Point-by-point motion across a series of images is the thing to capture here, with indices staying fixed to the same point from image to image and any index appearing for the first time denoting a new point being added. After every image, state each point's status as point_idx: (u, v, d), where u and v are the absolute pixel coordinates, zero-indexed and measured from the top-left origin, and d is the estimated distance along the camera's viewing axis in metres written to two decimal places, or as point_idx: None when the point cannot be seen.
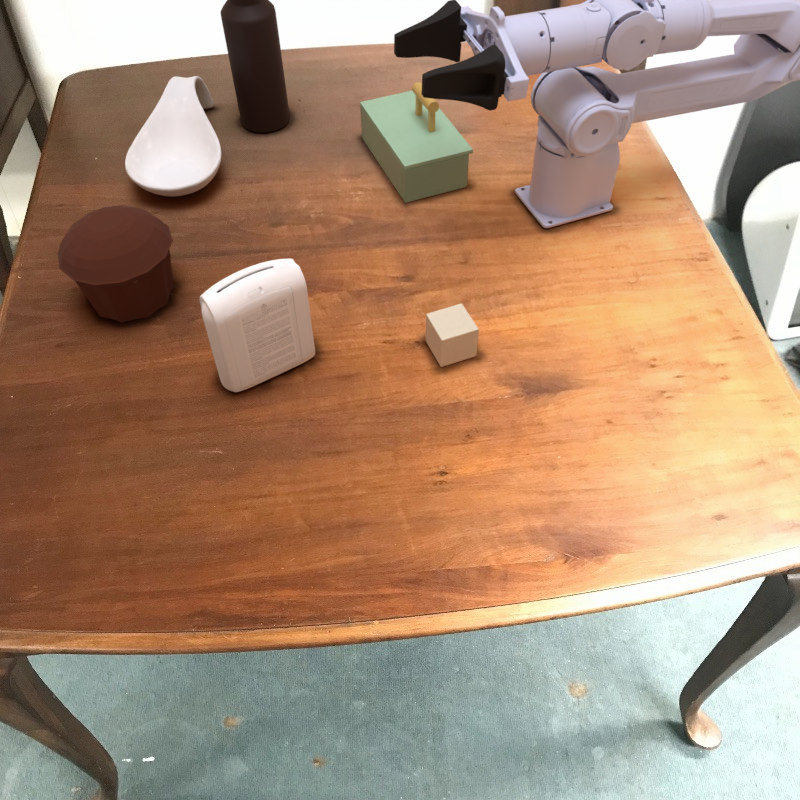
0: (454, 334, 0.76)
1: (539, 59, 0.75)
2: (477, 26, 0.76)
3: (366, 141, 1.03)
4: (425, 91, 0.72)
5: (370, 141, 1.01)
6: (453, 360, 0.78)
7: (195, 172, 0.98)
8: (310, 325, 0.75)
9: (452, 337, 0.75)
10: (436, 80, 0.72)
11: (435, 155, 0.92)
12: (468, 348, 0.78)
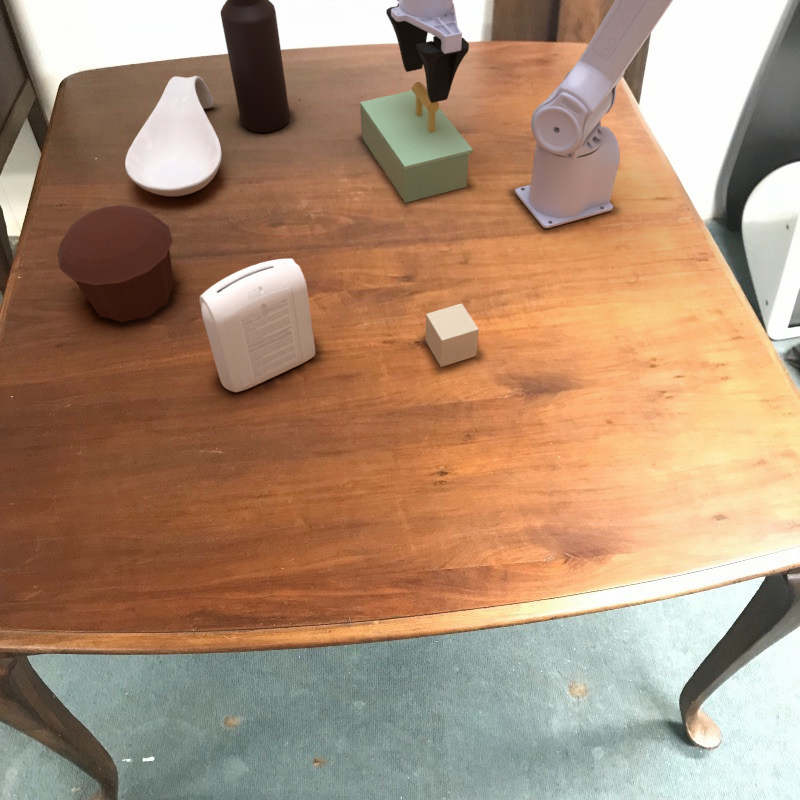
0: (454, 334, 0.76)
1: None
2: None
3: (366, 141, 1.03)
4: (442, 99, 0.90)
5: (370, 141, 1.01)
6: (453, 360, 0.78)
7: (195, 172, 0.98)
8: (310, 325, 0.75)
9: (452, 337, 0.75)
10: (435, 93, 0.89)
11: (435, 155, 0.92)
12: (468, 348, 0.78)
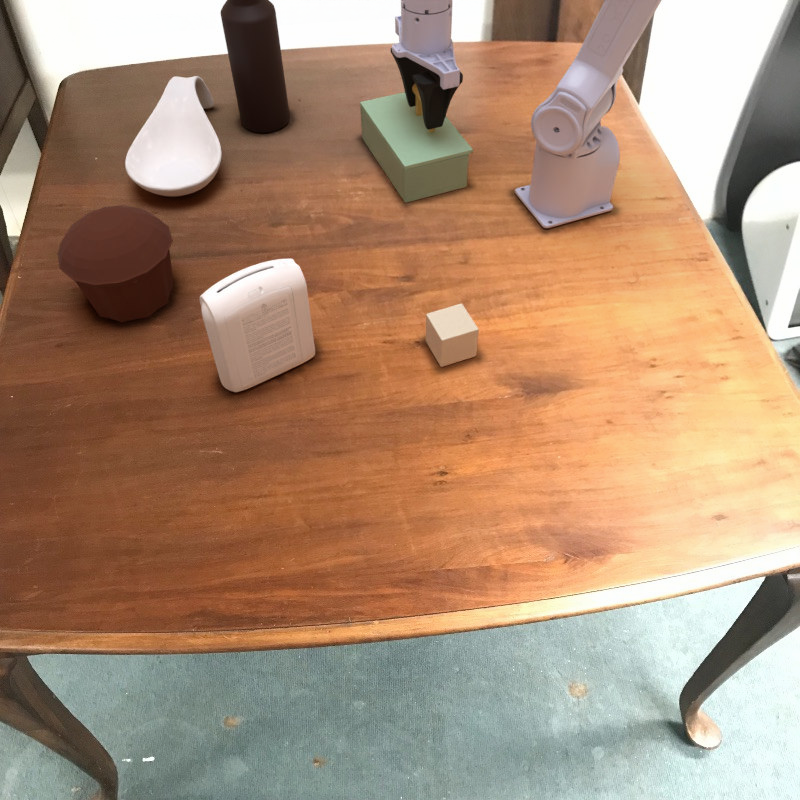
0: (454, 334, 0.76)
1: (436, 23, 0.85)
2: None
3: (366, 141, 1.03)
4: (438, 126, 0.94)
5: (370, 141, 1.01)
6: (453, 360, 0.78)
7: (195, 172, 0.98)
8: (310, 325, 0.75)
9: (452, 337, 0.75)
10: (431, 121, 0.93)
11: (435, 155, 0.92)
12: (468, 348, 0.78)
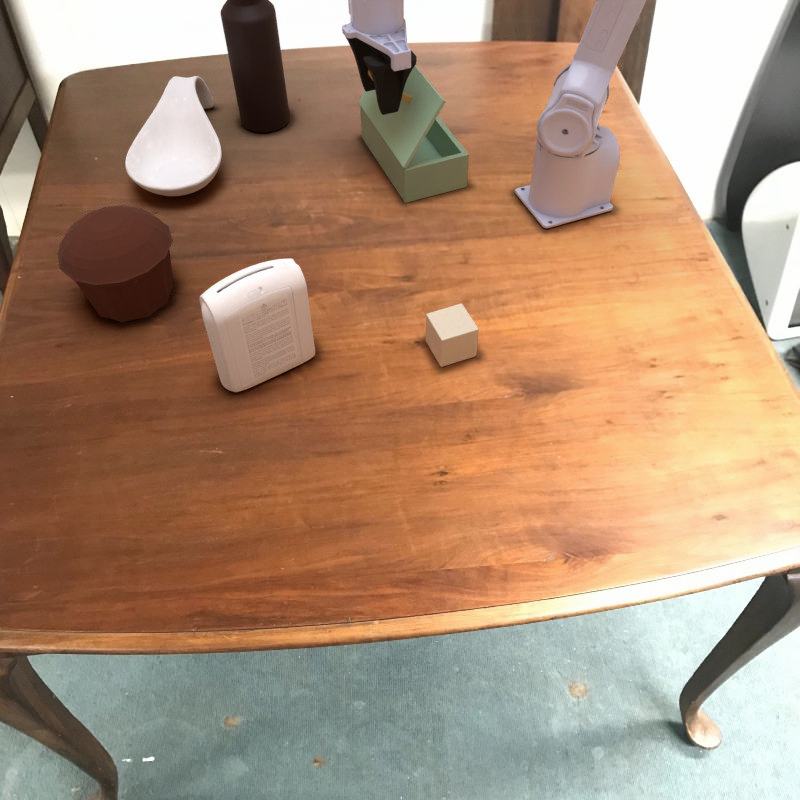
0: (454, 334, 0.76)
1: (386, 1, 0.81)
2: None
3: (366, 141, 1.03)
4: (393, 111, 0.90)
5: (370, 141, 1.01)
6: (453, 360, 0.78)
7: (195, 172, 0.98)
8: (310, 325, 0.75)
9: (452, 337, 0.75)
10: (385, 106, 0.89)
11: (419, 133, 0.89)
12: (468, 348, 0.78)
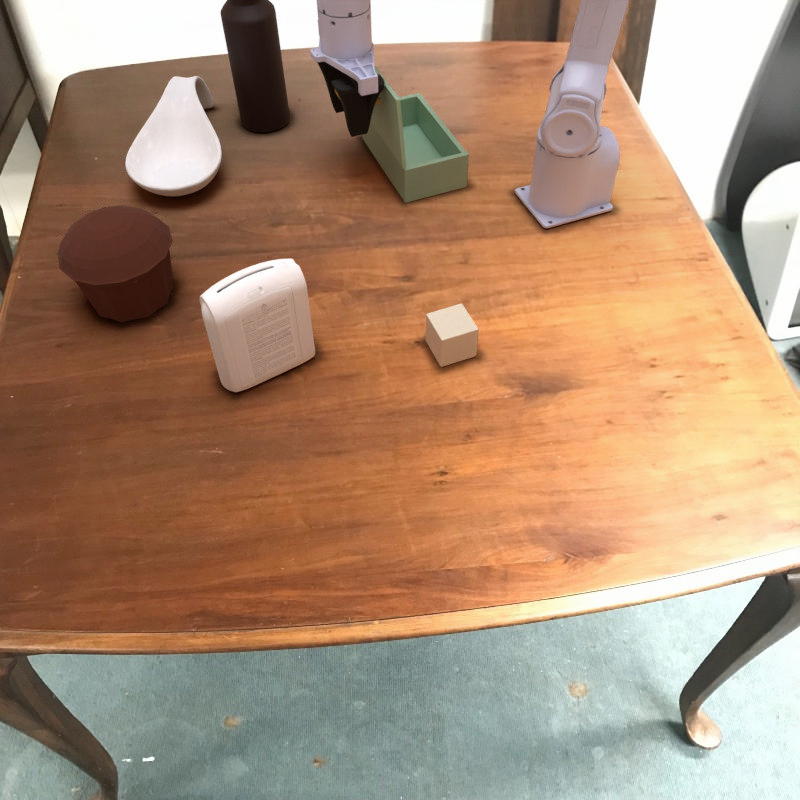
0: (454, 334, 0.76)
1: (353, 27, 0.81)
2: None
3: (366, 141, 1.03)
4: (362, 133, 0.91)
5: (370, 141, 1.01)
6: (453, 360, 0.78)
7: (195, 172, 0.98)
8: (310, 325, 0.75)
9: (452, 337, 0.75)
10: (354, 128, 0.90)
11: (397, 134, 0.88)
12: (468, 348, 0.78)
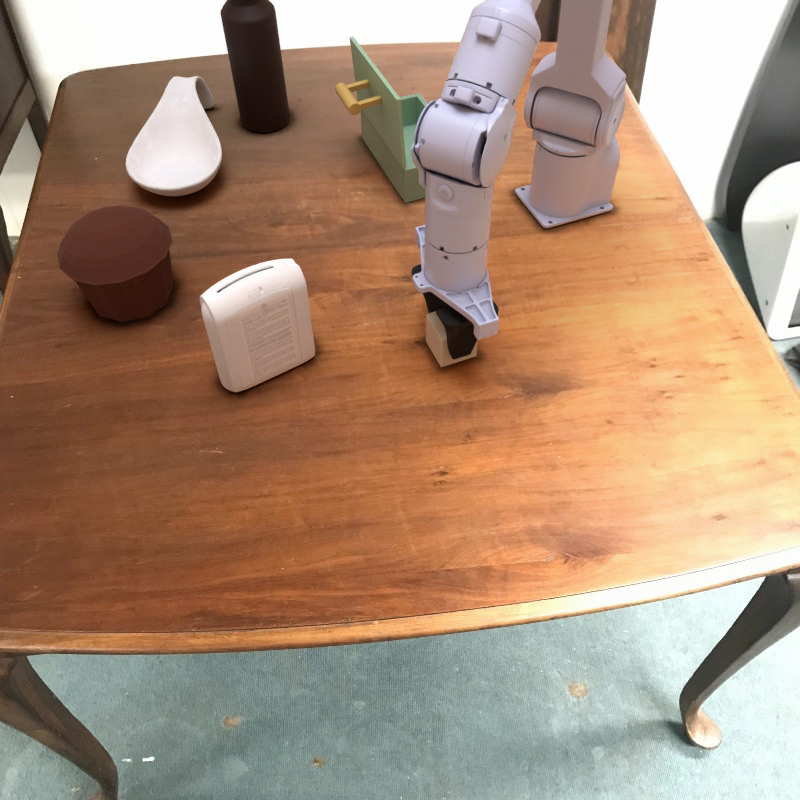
0: None
1: (470, 261, 0.67)
2: None
3: (366, 141, 1.03)
4: (465, 355, 0.77)
5: (370, 141, 1.01)
6: (453, 360, 0.78)
7: (196, 172, 0.98)
8: (310, 325, 0.75)
9: None
10: (457, 351, 0.76)
11: (397, 134, 0.88)
12: None
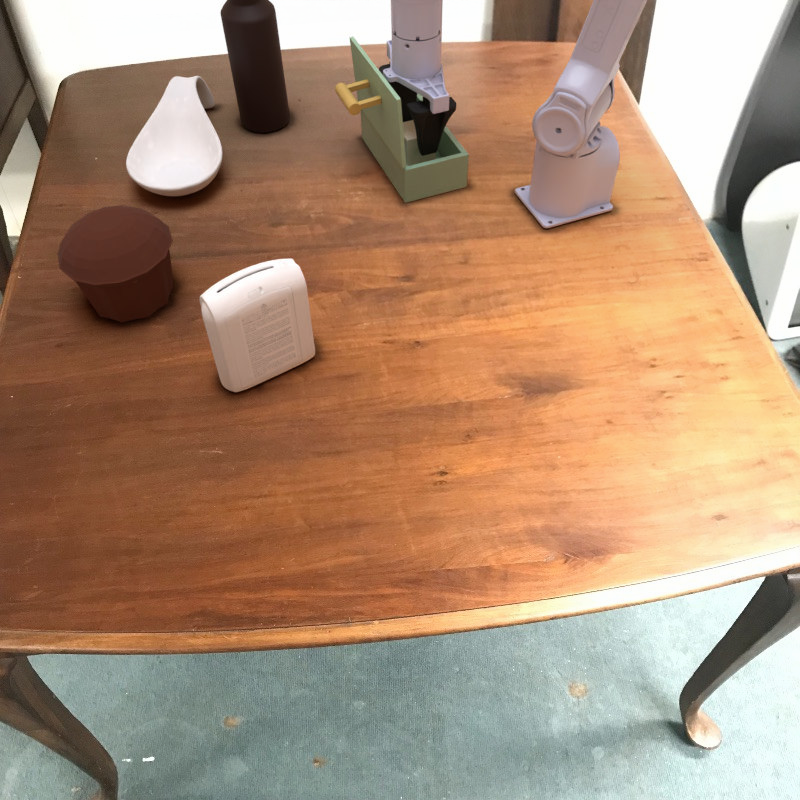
0: None
1: (426, 49, 0.86)
2: None
3: (366, 141, 1.03)
4: (432, 152, 0.95)
5: (370, 141, 1.01)
6: (417, 162, 0.98)
7: (196, 172, 0.98)
8: (310, 325, 0.75)
9: (415, 139, 0.96)
10: (425, 147, 0.94)
11: (397, 134, 0.88)
12: None
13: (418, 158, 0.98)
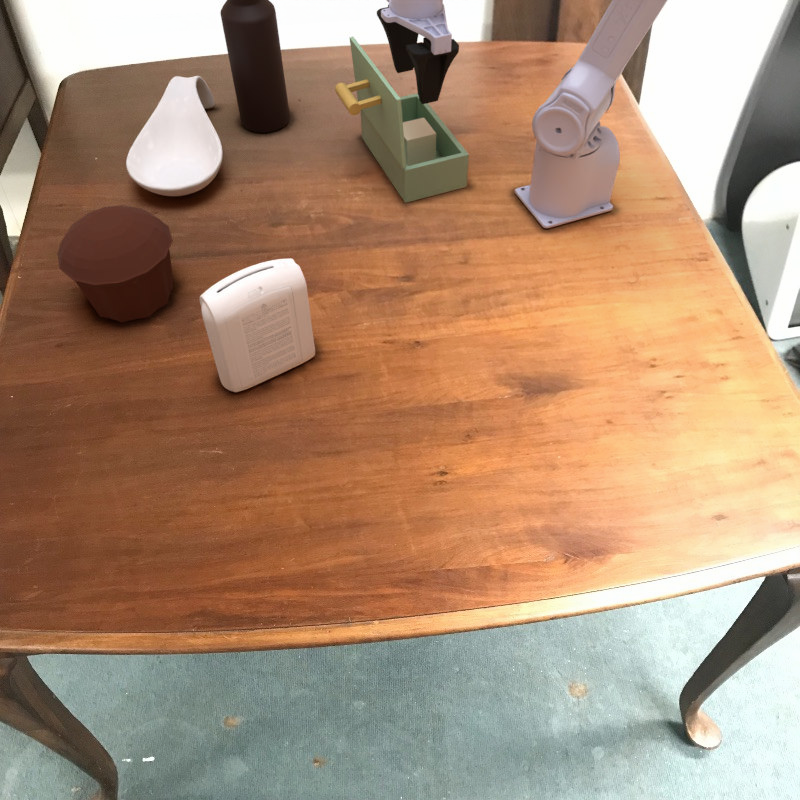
0: (417, 136, 0.96)
1: None
2: None
3: (366, 141, 1.03)
4: (433, 101, 0.90)
5: (370, 141, 1.01)
6: (417, 162, 0.98)
7: (196, 172, 0.98)
8: (310, 325, 0.75)
9: (415, 139, 0.96)
10: (425, 95, 0.89)
11: (397, 134, 0.88)
12: (428, 152, 0.98)
13: (418, 158, 0.98)
